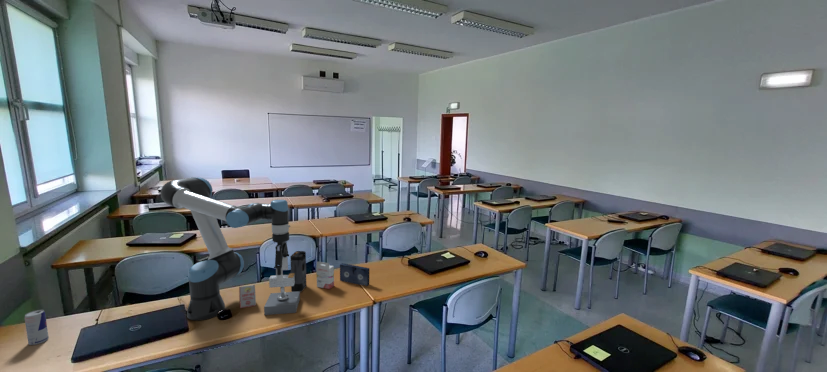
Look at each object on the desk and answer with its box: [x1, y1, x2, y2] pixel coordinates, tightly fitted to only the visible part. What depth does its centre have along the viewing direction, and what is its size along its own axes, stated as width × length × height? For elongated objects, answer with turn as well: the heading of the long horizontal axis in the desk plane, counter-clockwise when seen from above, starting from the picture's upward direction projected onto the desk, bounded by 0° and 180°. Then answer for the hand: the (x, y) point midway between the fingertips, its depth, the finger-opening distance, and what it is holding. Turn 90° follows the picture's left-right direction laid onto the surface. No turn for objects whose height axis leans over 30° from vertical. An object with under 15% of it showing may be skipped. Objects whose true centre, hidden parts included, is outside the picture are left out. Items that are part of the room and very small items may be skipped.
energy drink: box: [24, 309, 49, 346], centre depth 130 cm, size 5×5×12 cm
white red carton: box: [238, 284, 257, 309], centre depth 162 cm, size 4×7×10 cm, turn 113°
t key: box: [268, 272, 295, 300], centre depth 161 cm, size 11×5×12 cm, turn 101°
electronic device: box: [289, 250, 307, 293], centre depth 181 cm, size 9×6×20 cm, turn 179°
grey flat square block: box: [263, 291, 301, 316], centre depth 162 cm, size 14×14×4 cm
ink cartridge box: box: [315, 261, 335, 290], centre depth 185 cm, size 9×5×15 cm, turn 73°
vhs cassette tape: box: [339, 262, 370, 287], centre depth 191 cm, size 18×3×10 cm, turn 68°
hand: (282, 275), depth 160 cm, fingers open, 13 cm apart
